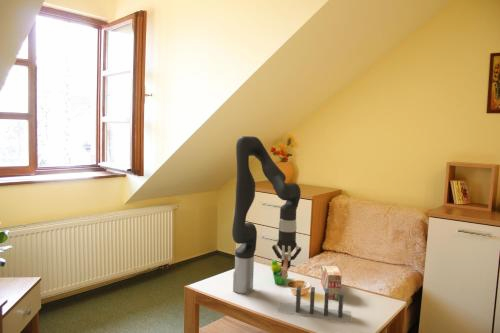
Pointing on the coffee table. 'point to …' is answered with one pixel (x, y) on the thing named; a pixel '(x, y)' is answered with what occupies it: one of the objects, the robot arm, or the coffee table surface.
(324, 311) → the domino
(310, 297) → the domino
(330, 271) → the multicoloured printed box
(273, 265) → the fruit basket
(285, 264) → the domino
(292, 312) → the mat
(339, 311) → the domino
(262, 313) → the coffee table surface
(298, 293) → the domino
